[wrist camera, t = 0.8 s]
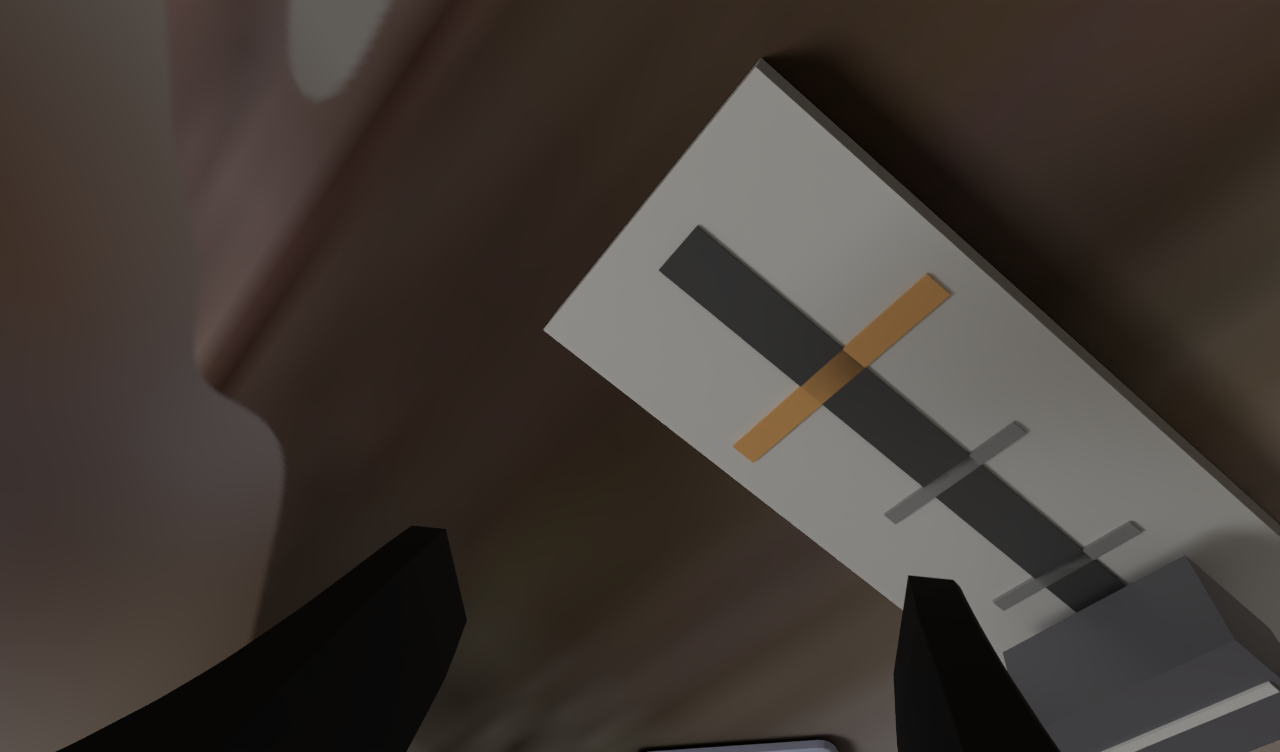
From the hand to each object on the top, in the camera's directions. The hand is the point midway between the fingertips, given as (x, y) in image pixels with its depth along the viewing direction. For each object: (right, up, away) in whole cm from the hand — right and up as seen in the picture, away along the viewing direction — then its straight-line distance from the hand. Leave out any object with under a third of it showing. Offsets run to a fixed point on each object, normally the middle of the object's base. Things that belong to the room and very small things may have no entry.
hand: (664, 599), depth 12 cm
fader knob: (+12, -3, +8) cm, 15 cm away
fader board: (+8, +2, +8) cm, 11 cm away
